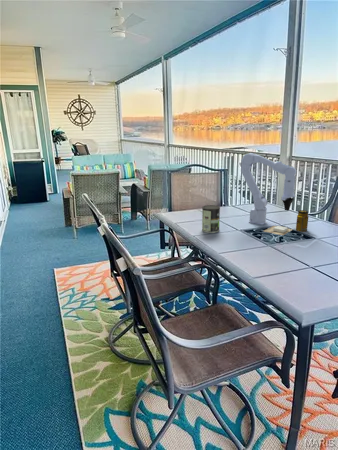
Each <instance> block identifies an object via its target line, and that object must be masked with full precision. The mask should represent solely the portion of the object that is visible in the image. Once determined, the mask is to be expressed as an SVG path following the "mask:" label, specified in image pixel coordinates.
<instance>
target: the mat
mask: <svg viewBox="0 0 338 450" xmlns="http://www.w3.org/2000/svg"><path fill="white" fill-rule="evenodd" d="M277 226H278V225H272V226H270V227H268V228H266V229H263V232H264V233H270V234H273V235H279V236H284V235H287V233H289V232H291V231H293V229H292V228H288V230H287V231H286V232H284V233H282V232H277V231H273V228H275V227H277Z"/></svg>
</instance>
